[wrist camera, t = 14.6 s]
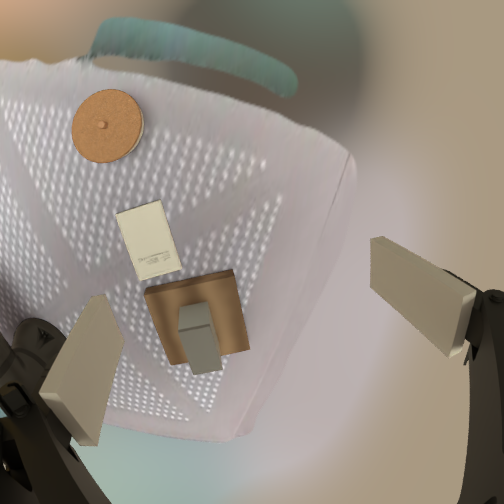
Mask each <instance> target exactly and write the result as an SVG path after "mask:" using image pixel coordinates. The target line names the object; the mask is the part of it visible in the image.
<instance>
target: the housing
mask: <svg viewBox="0 0 504 504" xmlns="http://www.w3.org/2000/svg"><path fill="white" fill-rule="evenodd" d="M178 334H179V337H180V340H181V343H182V346H183V348H184V351H185V354H186V356H187V359H188V362H189V364H190V367H191V370H192V372H193V375H197V374H203V373H208V372H213V371H218V370H223V368H222V362H221V355H220V349H219V342H218V338H217V335H216V331H215V328H214V324H213V320H212V317H211V313H210V309H209V305H208V301H207V302H202V303H197V304H192V305H188V306H183V307H180V309H179V324H178Z"/></svg>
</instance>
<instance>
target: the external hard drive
mask: <svg viewBox="0 0 504 504" xmlns="http://www.w3.org/2000/svg"><path fill="white" fill-rule="evenodd" d="M115 216H116V219H117V222H118V225H119V228H120V230H121V233H122V236H123V239H124V242H125V245H126V247H127V250H128V253H129V255H130V258H131V261H132V263H133V266H134V268H135V271H136V274H137V276H138V279H139V281H142V280H146V279H149V278H153V277H156V276H160V275H163V274H167V273H170V272H174V271H177V270H180V269H182V264H181V262H180V258H179V255H178V252H177V249H176V246H175V243H174V240H173V237H172V234H171V231H170V228H169V225H168V221H167V218H166V215H165V212H164V208H163V205H162V202H161V199H160V200H157V201H153V202H150V203H147V204H144V205H141V206H138V207H135V208H132V209H129V210H126V211H123V212H120V213H117V214H116V215H115Z"/></svg>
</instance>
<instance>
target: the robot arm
mask: <svg viewBox="0 0 504 504" xmlns="http://www.w3.org/2000/svg"><path fill="white" fill-rule="evenodd" d="M370 243H371V271H370V272H371V273H370V287H371V288H372V289H373V290H374V291H375V292H376V293H377V294H378V295H380V296H381V297H382V298H383V299H384V300H385V301H386V302H388V303H389V304H390V305H391V306H392V307H393V308H394V309H395V310H397V311H398V312H399V313H400V314H401V315H402V316H403V317H404V318H405V319H407V320H408V321H409V322H410V323H411V324H412V325H413V326H414V327H415V328H416V329H418V330H419V331H420V332H421V333H422V334H423V335H424V336H425V337H426V338H427V339H428V340H430V341H431V342H432V343H433V344H434V345H435V346H436V347H437V348H438V349H439V350H440V351H441V352H442V353H443V354H444V355H445V356H446V357H448V358H450V357H452V356H454V355H455V354H457V353H459V352H461V350H462V347H463V344H464V340H465V339H466V340H467V341H469V342H470V345H469V349H468V352H467V355H466V358H465V361H464V365H466V363H467V361H468V360H469V375H470V415H469V433H468V434H469V435H468V446H467V456H466V464H465V471H464V478H463V485H462V490H461V494H460V498H459V501H458V503H457V504H504V292H502V291H500V290H495V289H493V290H487V291H485V292H482V291H481V290H479V289H478V288H476V287H474V286H473V285H471V284H470V283H468V282H466V281H463V279H461V278H460V277H457V276H456V275H454V274H453V273H451V272H450V271H447V270H444V269H441V268H439V267H437V266H435V265H434V264H432V263H430V262H428V261H427V260H425V259H423V258H421V257H420V256H418V255H416V254H414V253H413V252H410V251H409V250H407V249H406V248H404V247H402V246H400V245H398V244H396V243H394V242H393V241H391V240H389V239H387V238H385V237H383V236H381V237H376V238H372V239H370ZM123 344H124V339H123V337H122V335H121V332H120V330H119V328H118V325H117V323H116V320H115V318H114V315H113V313H112V310H111V308H110V305H109V303H108V300H107V297H106V295H105V294H103V295H98V296H93V297H91V299H90V300H89V302H88V304H87V305H86V307H85V308H84V310H83V312H82V313H81V315H80V317H79V318H78V320H77V322H76V324H75V325H74V327H73V329H72V330H71V332H70V334H69V336H68V337H67V339H66V338H65V337H64V335H63V334H62V333H61V332H60V331H59V330H58V329H57V328H55V327H54V326H53V325H51V324H50V323H48V322H46V321H44V320H41V319H36V318H30V319H26V320H24V321H23V322H22V323H21V324H20V325H19V326H18V327H17V329H16V331H15V333H14V338H13V342H12V346H10V345H9V344H8V342H7V341H6V339H5V338H4V337H3V335H2V334H1V332H0V504H111V502H110V501H109V499H108V498H107V497H106V496H105V494H104V493H103V492H102V490H101V489H100V487H99V486H98V485H97V483H96V482H95V480H94V479H93V478H92V476H91V475H90V473H89V472H88V470H87V469H86V467H85V466H84V464H83V462H82V461H81V459H80V458H79V456H78V455H77V453H76V451H75V450H74V448H73V447H72V446H71V445H70V441H71V437H73V438H74V439H75V440H76V442H77V443H78V444H79V445H80V446H97V445H98V441H99V436H100V431H101V427H102V423H103V418H104V414H105V410H106V406H107V402H108V398H109V394H110V390H111V386H112V383H113V379H114V375H115V372H116V368H117V365H118V361H119V358H120V354H121V351H122V348H123ZM3 463H4V464H5V465H6V470H5V468H4V466H3Z"/></svg>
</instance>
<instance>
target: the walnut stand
mask: <svg viewBox="0 0 504 504" xmlns="http://www.w3.org/2000/svg"><path fill="white" fill-rule="evenodd" d="M144 297H145V300H146V303H147V306H148V309H149V311H150V314H151V317H152V319H153V322H154V325H155V327H156V330H157V333H158V335H159V338H160V340H161V343H162V345H163V348H164V350H165V353H166V355H167V358H168V360H169V362H170V365H176V364H182V363H187V362H188V359H187V356H186V354H185V351H184V348H183V346H182V343H181V340H180V337H179V334H178V324H179V309H180V307H183V306H188V305H192V304H197V303H202V302H207V301H208V305H209V309H210V313H211V317H212V320H213V324H214V328H215V331H216V335H217V338H218V342H219V349H220V355H221V356H223V355H227V354H232V353H236V352H241V351H245V350H249V349H250V346H249V341H248V337H247V332H246V327H245V323H244V318H243V314H242V309H241V304H240V299H239V295H238V290H237V285H236V280H235V276H234V273H233V269H231V270H227V271H222V272H218V273H213V274H209V275H204V276H199V277H195V278H190V279H186V280H181V281H176V282H172V283H167V284H162V285H158V286H153V287H148V288H146V290H145V293H144Z"/></svg>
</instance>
